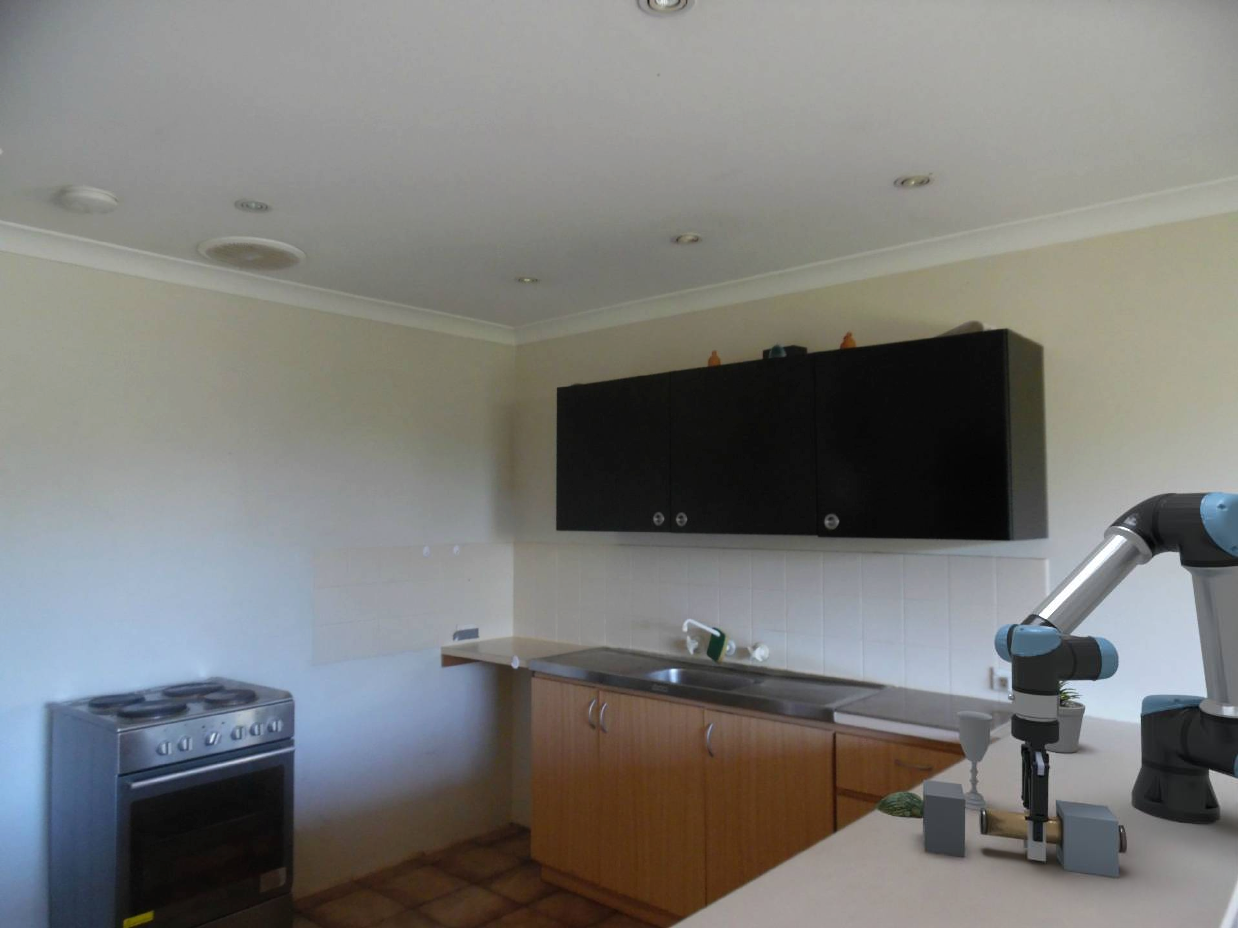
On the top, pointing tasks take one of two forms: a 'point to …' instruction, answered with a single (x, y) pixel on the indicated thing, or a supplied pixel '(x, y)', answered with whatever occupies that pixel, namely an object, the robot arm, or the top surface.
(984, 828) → the slip tube
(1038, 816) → the robot arm
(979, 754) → the chalice
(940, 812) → the socket
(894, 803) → the seashell
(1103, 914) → the top surface
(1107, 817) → the blue-grey cube-like block
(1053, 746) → the potted plant
